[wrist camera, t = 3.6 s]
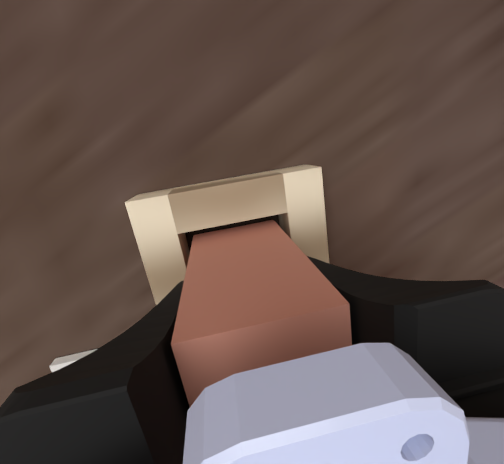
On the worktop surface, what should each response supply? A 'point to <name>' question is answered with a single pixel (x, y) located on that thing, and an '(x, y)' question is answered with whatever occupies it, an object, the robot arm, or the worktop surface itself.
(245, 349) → the peg
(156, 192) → the pocket holder
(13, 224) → the worktop surface
